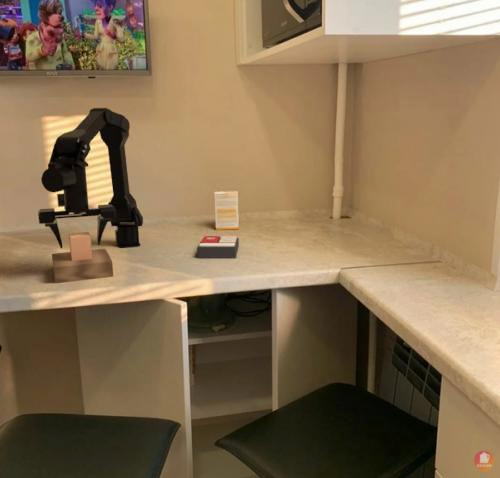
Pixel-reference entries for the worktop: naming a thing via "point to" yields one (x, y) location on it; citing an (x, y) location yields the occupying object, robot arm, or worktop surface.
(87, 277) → the walnut base
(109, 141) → the robot arm
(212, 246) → the red white black box
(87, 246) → the terracotta block
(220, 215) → the supplement box
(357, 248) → the worktop surface
